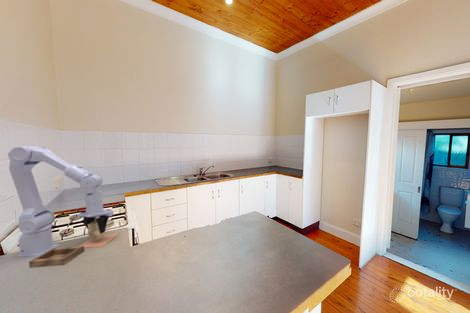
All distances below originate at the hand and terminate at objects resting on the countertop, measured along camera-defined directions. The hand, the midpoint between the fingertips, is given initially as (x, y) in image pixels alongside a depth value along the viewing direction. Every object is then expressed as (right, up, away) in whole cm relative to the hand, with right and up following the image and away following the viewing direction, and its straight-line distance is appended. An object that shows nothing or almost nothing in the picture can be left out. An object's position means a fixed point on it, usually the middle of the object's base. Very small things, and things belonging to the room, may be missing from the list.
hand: (97, 232), depth 80 cm
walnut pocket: (-6, -5, -12) cm, 14 cm away
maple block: (0, -2, 0) cm, 2 cm away
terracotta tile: (0, -4, 0) cm, 4 cm away
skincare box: (-9, -5, +11) cm, 15 cm away
